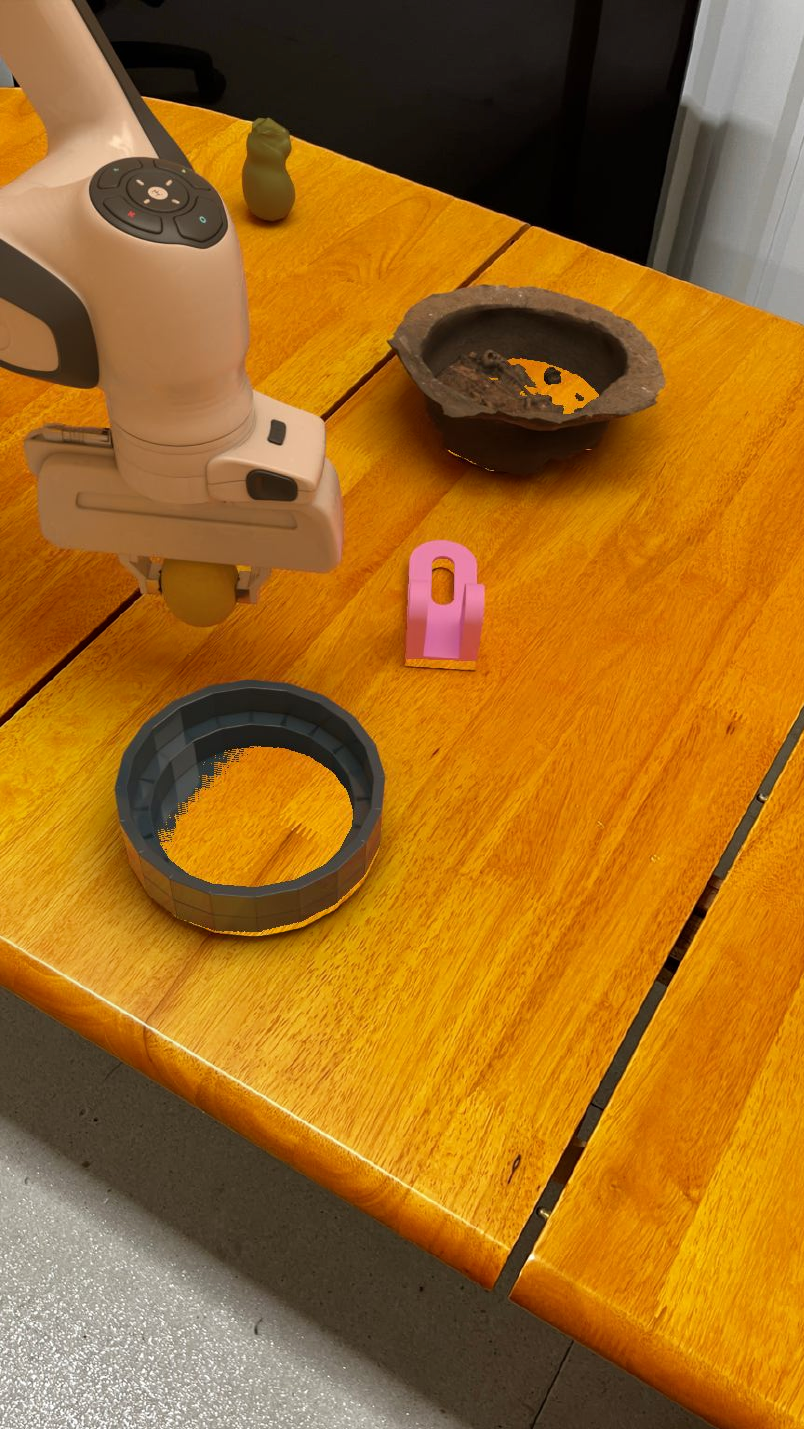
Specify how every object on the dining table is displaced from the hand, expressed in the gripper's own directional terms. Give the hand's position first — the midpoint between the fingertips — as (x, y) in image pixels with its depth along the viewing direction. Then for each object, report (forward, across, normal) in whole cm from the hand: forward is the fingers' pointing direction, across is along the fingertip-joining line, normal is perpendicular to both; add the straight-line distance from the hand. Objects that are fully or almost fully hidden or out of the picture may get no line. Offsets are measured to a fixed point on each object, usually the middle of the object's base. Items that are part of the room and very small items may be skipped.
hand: (202, 593), depth 88 cm
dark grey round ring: (+8, +6, -15) cm, 18 cm away
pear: (+8, -4, +63) cm, 64 cm away
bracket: (+8, +18, +8) cm, 21 cm away
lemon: (+3, 0, 0) cm, 3 cm away
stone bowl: (+8, +24, +34) cm, 42 cm away
